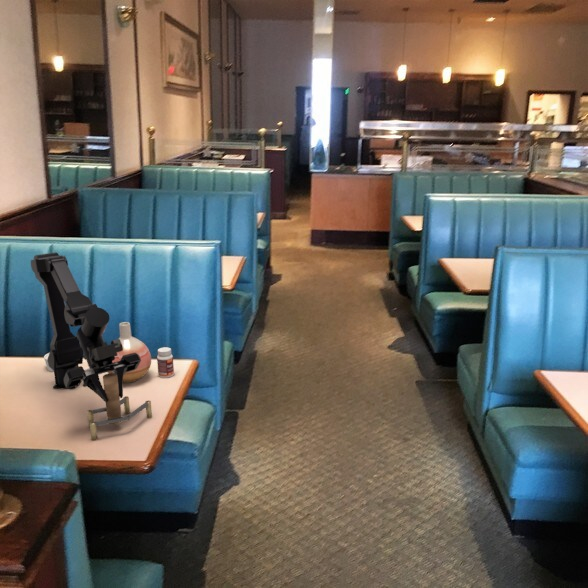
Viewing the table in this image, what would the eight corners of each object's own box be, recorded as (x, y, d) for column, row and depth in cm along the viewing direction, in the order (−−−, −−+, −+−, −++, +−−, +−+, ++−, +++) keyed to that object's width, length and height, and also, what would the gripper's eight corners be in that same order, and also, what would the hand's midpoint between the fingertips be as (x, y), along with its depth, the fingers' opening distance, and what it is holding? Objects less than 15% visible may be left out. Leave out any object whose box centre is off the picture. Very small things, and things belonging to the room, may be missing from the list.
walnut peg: (105, 424, 157) (101, 379, 153) (109, 418, 160) (104, 373, 157) (119, 424, 157) (115, 378, 153) (123, 417, 160) (118, 373, 157)
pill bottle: (170, 378, 188) (168, 352, 186) (155, 377, 189) (153, 351, 187) (176, 372, 193) (174, 347, 191) (162, 371, 194) (160, 346, 191)
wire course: (78, 440, 154) (76, 423, 152) (101, 410, 169) (99, 395, 167) (137, 441, 153) (135, 425, 151) (155, 411, 168) (153, 396, 166)
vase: (158, 370, 195) (154, 316, 190) (144, 388, 182) (139, 331, 177) (115, 369, 196) (110, 315, 191) (99, 387, 183) (92, 330, 178)
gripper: (62, 339, 150) (83, 397, 144) (134, 322, 161) (157, 376, 155) (55, 360, 158) (75, 415, 152) (125, 343, 169) (146, 394, 163)
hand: (114, 399), depth 156 cm, fingers closed on walnut peg, 3 cm apart
